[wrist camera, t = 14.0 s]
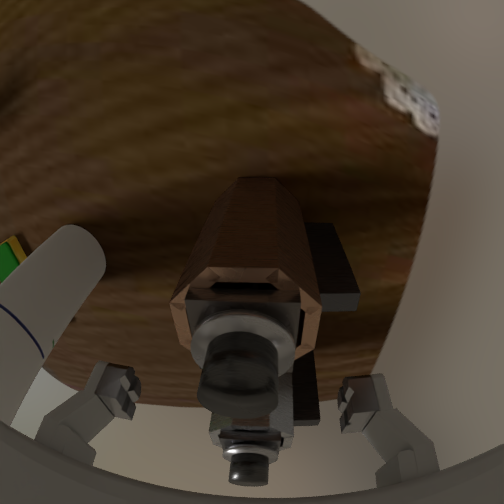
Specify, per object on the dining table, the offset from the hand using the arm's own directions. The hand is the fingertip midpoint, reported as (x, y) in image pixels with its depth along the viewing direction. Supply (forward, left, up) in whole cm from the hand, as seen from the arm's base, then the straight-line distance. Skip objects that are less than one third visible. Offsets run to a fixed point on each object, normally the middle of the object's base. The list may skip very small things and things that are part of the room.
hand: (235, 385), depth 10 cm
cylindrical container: (+4, -19, -16) cm, 25 cm away
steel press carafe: (+14, +1, -16) cm, 21 cm away
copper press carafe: (0, +1, -16) cm, 16 cm away
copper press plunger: (0, 0, -12) cm, 12 cm away
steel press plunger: (+14, 0, -12) cm, 19 cm away
